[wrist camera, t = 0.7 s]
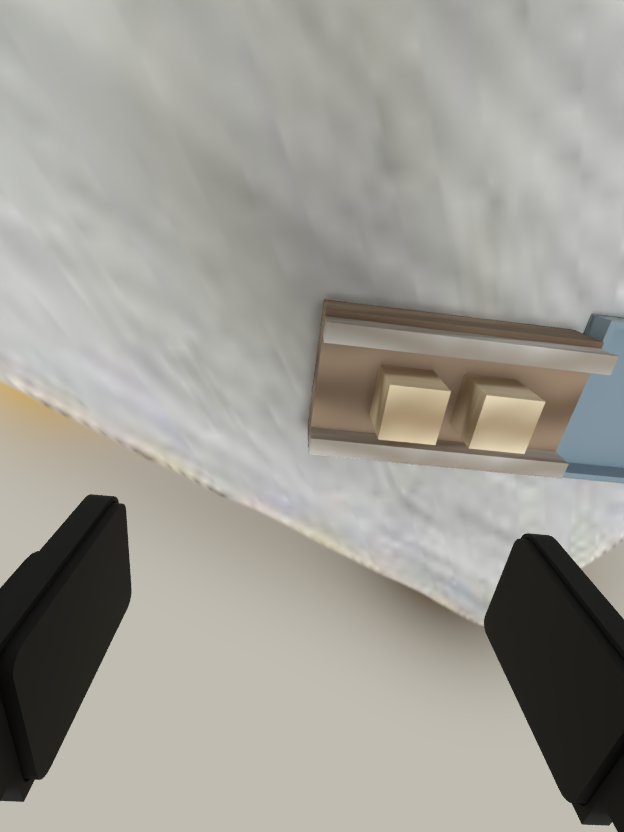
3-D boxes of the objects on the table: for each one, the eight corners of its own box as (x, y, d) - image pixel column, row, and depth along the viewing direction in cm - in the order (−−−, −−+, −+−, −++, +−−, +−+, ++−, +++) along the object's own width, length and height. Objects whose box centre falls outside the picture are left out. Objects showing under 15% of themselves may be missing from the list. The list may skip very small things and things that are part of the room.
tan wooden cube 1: (379, 364, 32) (390, 384, 28) (433, 370, 32) (451, 391, 29) (369, 413, 34) (378, 439, 30) (420, 419, 34) (435, 445, 30)
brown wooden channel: (324, 299, 34) (327, 315, 28) (573, 329, 35) (622, 349, 30) (307, 426, 39) (308, 459, 34) (525, 448, 40) (559, 483, 35)
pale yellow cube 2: (464, 373, 33) (486, 395, 29) (516, 379, 33) (545, 401, 29) (450, 422, 35) (468, 448, 31) (499, 427, 35) (524, 454, 31)
